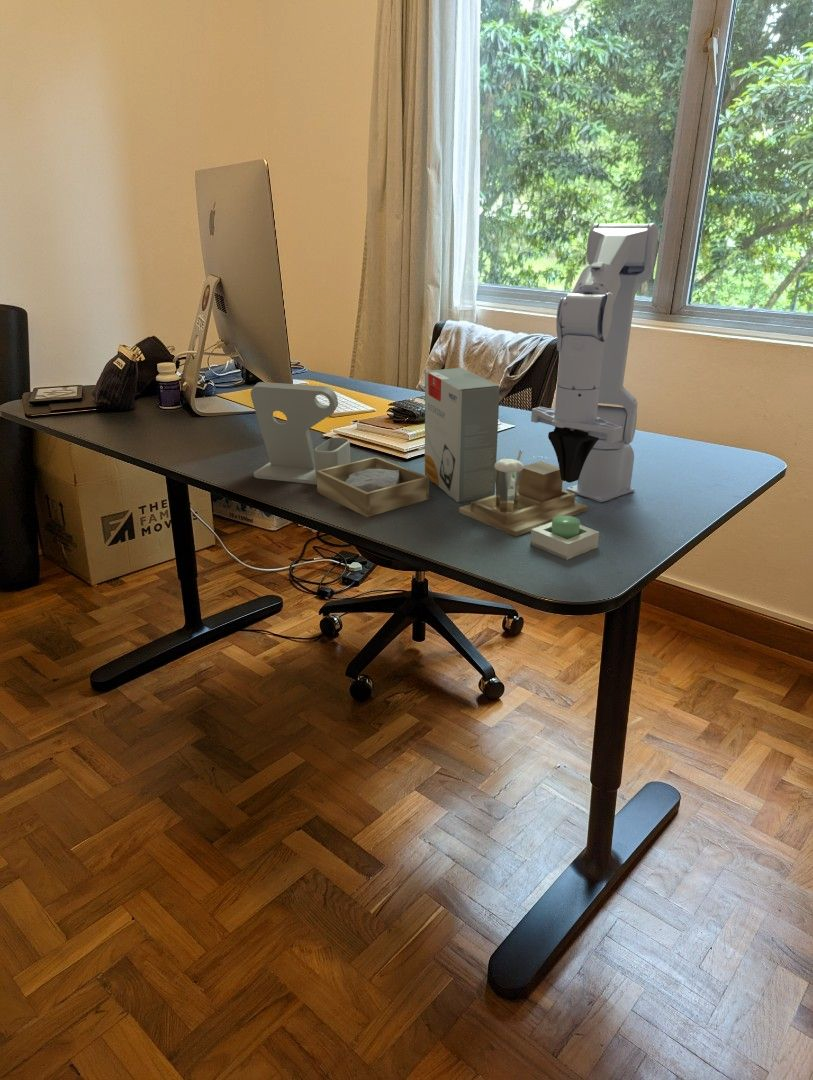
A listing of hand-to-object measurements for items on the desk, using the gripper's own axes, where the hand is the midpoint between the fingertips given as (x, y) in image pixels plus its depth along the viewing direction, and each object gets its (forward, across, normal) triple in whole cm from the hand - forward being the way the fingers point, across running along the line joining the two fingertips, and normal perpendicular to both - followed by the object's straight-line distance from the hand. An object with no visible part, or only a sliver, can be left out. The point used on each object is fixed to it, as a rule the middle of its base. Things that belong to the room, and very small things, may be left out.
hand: (569, 480), depth 107 cm
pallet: (+10, -14, +6) cm, 18 cm away
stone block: (+11, -35, -10) cm, 38 cm away
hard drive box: (+11, -30, +6) cm, 32 cm away
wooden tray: (+10, -36, -10) cm, 38 cm away
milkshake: (+10, -13, +2) cm, 17 cm away
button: (+9, 0, 0) cm, 9 cm away
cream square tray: (+10, 0, 0) cm, 10 cm away
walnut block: (+10, -14, +10) cm, 19 cm away
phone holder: (+11, -54, -12) cm, 56 cm away
